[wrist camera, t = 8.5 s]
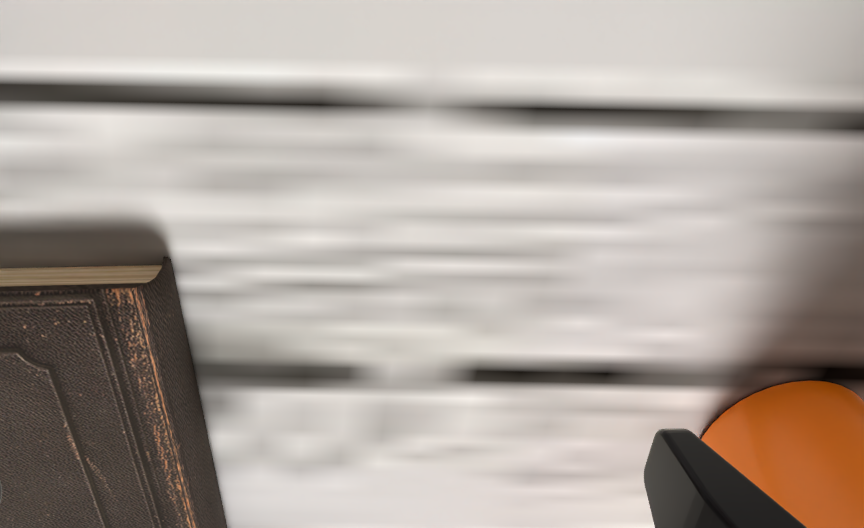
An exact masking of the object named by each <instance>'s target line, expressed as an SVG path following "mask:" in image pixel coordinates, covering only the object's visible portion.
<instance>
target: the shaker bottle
mask: <svg viewBox="0 0 864 528" xmlns="http://www.w3.org/2000/svg"><path fill="white" fill-rule="evenodd" d="M701 440H702V441H703V442H704V443H706V444H707V445H708V446H709V447H710V448H712V449H713V450H714V451H715V452H716V453H718V454H719V455H720V456H721V457H722V458H724V459H725V460H726V461H727V462H728V463H730V464H731V465H732V466H733V467H735V468H736V469H737V470H738V471H739V472H741V473H742V474H743V475H744V476H745V477H747V478H748V479H749V480H750V481H751V482H753V483H754V484H755V485H756V486H757V487H759V488H760V489H761V490H762V491H763V492H765V493H766V494H767V495H768V496H769V497H771V498H772V499H773V500H774V501H776V502H777V503H778V504H779V505H780V506H782V507H783V508H784V509H785V510H786V511H788V512H789V513H790V514H791V515H792V516H794V517H795V518H796V519H797V520H798V521H800V522H801V523H802V524H803V525H804V526H806V527H807V528H864V401H863V400H862V399H861V398H860V397H859V396H858V395H857V394H856V393H855V392H853V391H851V390H849V389H847V388H845V387H843V386H841V385H838V384H834V383H830V382H826V381H811V380H808V381H798V382H789V383H785V384H781V385H777V386H772V387H770V388H767V389H764V390H762V391H759V392H757V393H754V394H752V395H750V396H749V397H747V398H745V399H743V400H741V401H739V402H738V403H736V404H735V405H733V406H732V407H731V408H729V409H728V410H726V411H725V412H724V413H723V414H722V415H721V416H720V417H719V418H718V419H717V420H715V421H714V422H713V423H712V425H711V426H710V427H709V429H708V430H707V431H706V433H705V434H704V435H703V437H702V439H701Z"/></svg>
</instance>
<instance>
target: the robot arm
mask: <svg viewBox="0 0 864 528" xmlns="http://www.w3.org/2000/svg"><path fill="white" fill-rule="evenodd" d="M644 483H645V488H646V492H647V496H648V500H649V504H650V508H651V513H652V517H653V521H654V525H655V528H807V527H806V526H804V525H803V524H802V523H801V522H800V521H798V520H797V519H796V518H795V517H794V516H792V515H791V514H790V513H789V512H788V511H786V510H785V509H784V508H783V507H782V506H780V505H779V504H778V503H777V502H776V501H774V500H773V499H772V498H771V497H769V496H768V495H767V494H766V493H765V492H763V491H762V490H761V489H760V488H759V487H757V486H756V485H755V484H754V483H753V482H751V481H750V480H749V479H748V478H747V477H745V476H744V475H743V474H742V473H741V472H739V471H738V470H737V469H736V468H735V467H733V466H732V465H731V464H730V463H728V462H727V461H726V460H725V459H724V458H722V457H721V456H720V455H719V454H718V453H716V452H715V451H714V450H713V449H712V448H710V447H709V446H708V445H707V444H706V443H704V442H703V441H702V440H701V439H700V438H698V437H697V436H696V435H695V434H694V433H692V432H691V431H689V430H687V429H661V430H659V431H658V432H657V433H656V434H655V437H654V440H653V443H652V446H651V449H650V452H649V456H648V459H647V462H646V465H645V469H644ZM1 498H2V485H1V481H0V502H1Z"/></svg>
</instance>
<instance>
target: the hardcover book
mask: <svg viewBox="0 0 864 528" xmlns="http://www.w3.org/2000/svg"><path fill="white" fill-rule="evenodd" d="M0 481H1V485H2V498H1V502H0V528H227V525H226V520H225V516H224V511H223V506H222V501H221V497H220V492H219V487H218V482H217V477H216V473H215V468H214V463H213V458H212V454H211V449H210V444H209V439H208V435H207V430H206V425H205V420H204V416H203V411H202V406H201V401H200V397H199V392H198V387H197V382H196V377H195V373H194V368H193V363H192V358H191V354H190V349H189V344H188V339H187V335H186V330H185V325H184V320H183V316H182V311H181V306H180V301H179V297H178V292H177V287H176V282H175V277H174V273H173V268H172V263H171V259H169V258H168V257H164V261H163V265H144V266H96V267H48V268H1V269H0Z"/></svg>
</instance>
